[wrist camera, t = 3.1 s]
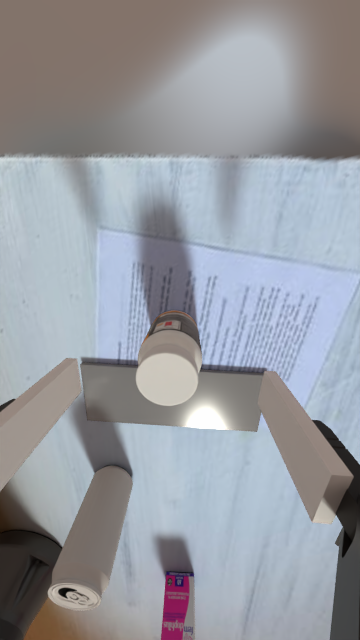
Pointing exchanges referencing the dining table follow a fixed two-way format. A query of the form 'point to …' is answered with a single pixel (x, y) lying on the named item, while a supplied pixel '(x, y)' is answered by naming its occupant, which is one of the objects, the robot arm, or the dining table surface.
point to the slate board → (198, 411)
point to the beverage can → (92, 542)
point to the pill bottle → (170, 359)
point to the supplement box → (179, 607)
